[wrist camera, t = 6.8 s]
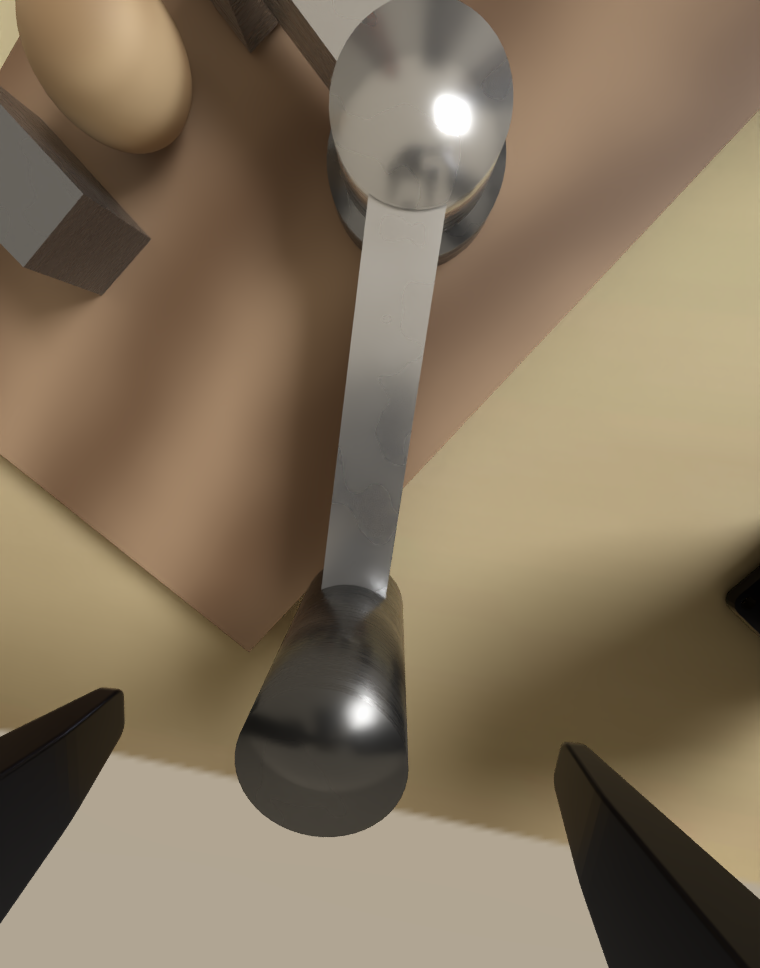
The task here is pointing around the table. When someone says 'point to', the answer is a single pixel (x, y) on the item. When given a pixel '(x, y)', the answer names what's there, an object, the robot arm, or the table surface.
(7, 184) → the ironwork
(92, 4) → the tan ball
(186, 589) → the board
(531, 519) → the table surface
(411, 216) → the lever
